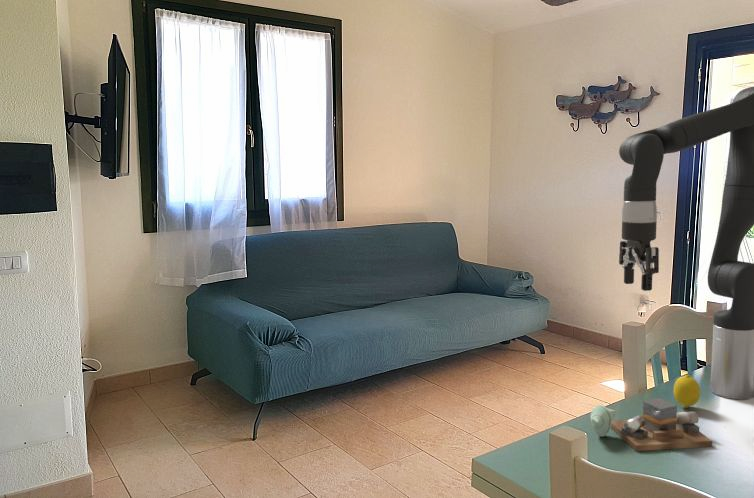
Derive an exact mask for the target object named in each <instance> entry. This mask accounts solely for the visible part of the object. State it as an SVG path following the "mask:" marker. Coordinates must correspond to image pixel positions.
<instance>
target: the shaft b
mask: <svg viewBox="0 0 754 498" xmlns="http://www.w3.org/2000/svg"><path fill="white" fill-rule="evenodd" d="M635 416H636V417H635ZM635 416H634V417H632V418H629V419H630V420H628V421H627V422H625V424H624V427H622V434H625V435H628V436H631V437H634V438H636V439H639V440H643V439H645V438H647V437H648V431H645V430H642V429H640V428H642V427H643V426H644V425H645V420H644V419H643V418H642V417H641V416H642V415H635Z"/></svg>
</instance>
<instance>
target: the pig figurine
mask: <svg viewBox="0 0 754 498" xmlns="http://www.w3.org/2000/svg"><path fill="white" fill-rule="evenodd" d="M616 413H617V411H616V410H614V409H610V408H607V407H606V406H605V405H602V404H599V405H595V406H594V407H593V408H592V410H591V411H590V421H591V426H592V429H593V430H594V432H595V434H596V435H597V436H598V437H602V438H603V437H605V436H606V435H607V434H608V433H609V432H610V429H611V424H612V420H614V417H615V415H616Z"/></svg>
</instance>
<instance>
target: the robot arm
mask: <svg viewBox="0 0 754 498" xmlns="http://www.w3.org/2000/svg"><path fill="white" fill-rule="evenodd" d="M727 133H730V134H729V135H730V136H729V148H728V149H729V150H728V157H727V165H726V172H725V173H726V175H725V179H724V184H723V185H724V186H723V191H722V198H721V200H722V201H721V208H720V209H721V210H720V217H719V221H718V222H719V223H718V228H717V233H716V238H715V242H714V247H713V251H712V255H711V258H710V262H709V267H708V272H707V286H708V288H709V290H710V292H711V293H712V294H714V295H717V296H720V297H726V298H730V299H732V301H731V306H730V308H729V309H723V310H718V311H716V312H715V313H714V314H713V322H712V323H713V325H712V346H711V368H710V369H711V371H710V391H711V392H712V393H713V394H715V395H717V396H719V397H723V398H727V399H732V400H733V399H735V400H748V399H751V398H753V397H754V263H753V262H748V261H747V262H746V261H740V260H738V259H739V253H740V249H741V245H742V242H743V241H744V238H745V237H746V235H747V234H748V233H749V231H750V230H751V229H752V228H753V226H754V86H750V87H747V88H743V89H742V90H740V91H739V92H737V94H735V96H734V98H733V99H732V102H731V103H729V104H725V105H723V106H720V107H717V108H716V107H715V108H712V109H709V110H704V111H702V112H701V111H700V112H698V113H694V114H691V115H687V116H686V117H683V118H680V119H679V118H678V119H677V120H674V121H672V122H670V123H667V124H665V125H662V126H660V127H657V128H656V127H655V128H653V129H648V130H646V131H641V132H638V133H634V134H633V135H632V134H631V135H630V136H629V137H627V138H625V139H624V140H623V141H622V142H621V144H620V146H619V148H618V154H619V157H620V159H621V160H622V162H625V164H628V165H631V166H633V167H632V170H631V171H632V172H631V175H630V176H627V177H626V178H625V179H624V185H623V204H622V205H623V206H622V210H621V212H622V213H621V215H622V216H621V239H622V240H621V241H620V242H619V254H618V256H619V257H618V258H619V259H618V263H619V265H620V266H622V269H623V283H624V284H626V285H632V284H634V283H635V266H637V267H638V268H639V269H640V272H641V287H640V288H641V290H642V291H643V292H648V291H652V289H653V275H655V274H659V273H660V272H659V270H660V269H659V268H660V267H659V266H660V263H659V262H660V261H659V260H660V259H659V258H660V254H659V251H660V249H659V247H658V246H655V247H653V246H652V245H651V242H653V241H655V240H656V239H657V222H658V221H657V219H658V218H657V217H658V209H657V208H658V207H657V182H658V179H659V176H660V173H661V169H662V165H663V161H664V155H667V154H675V153H678V152H681V151H685V150H686V149H689V148H692V147H694V146H697V145H699V144H702V143H705V142H708V141H710V140H712V139H715V138H717V137H720V136H723V135H725V134H727Z"/></svg>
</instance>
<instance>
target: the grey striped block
mask: <svg viewBox="0 0 754 498" xmlns="http://www.w3.org/2000/svg"><path fill="white" fill-rule="evenodd" d="M677 408H678V405H676V404H674V403H672V402H670V401H667V400H666V399H663V398H660V397H657V398H653V399H648V400H645V401H643V407H642V409H643V410H642V416H643V419H644V420H645V425H644V426H643V429H645V430H647V431H649V432H651V433H653V431H663V430H676V421H677V417H676V415H677V413H678V412H677V411H678V409H677Z"/></svg>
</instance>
